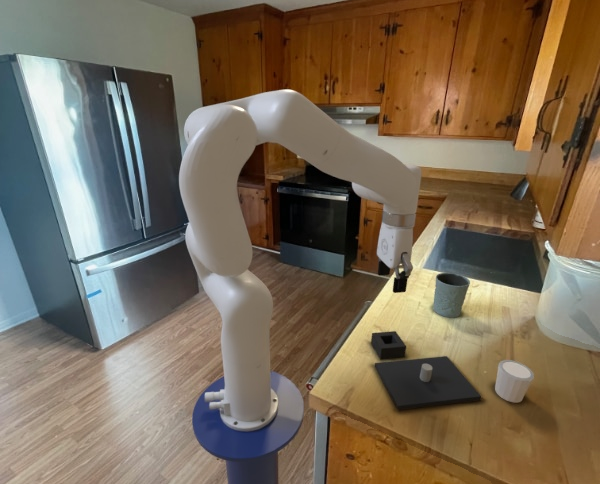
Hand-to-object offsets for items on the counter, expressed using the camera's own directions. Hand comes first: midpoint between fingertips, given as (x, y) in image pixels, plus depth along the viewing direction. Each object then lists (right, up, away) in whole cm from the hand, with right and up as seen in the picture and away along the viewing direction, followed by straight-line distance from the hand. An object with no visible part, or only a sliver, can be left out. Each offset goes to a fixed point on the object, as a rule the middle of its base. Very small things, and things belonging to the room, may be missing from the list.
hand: (390, 283), depth 84 cm
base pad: (+7, -24, -5) cm, 25 cm away
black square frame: (+1, -19, +7) cm, 20 cm away
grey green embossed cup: (+26, -12, +26) cm, 39 cm away
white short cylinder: (+26, -25, -7) cm, 37 cm away
